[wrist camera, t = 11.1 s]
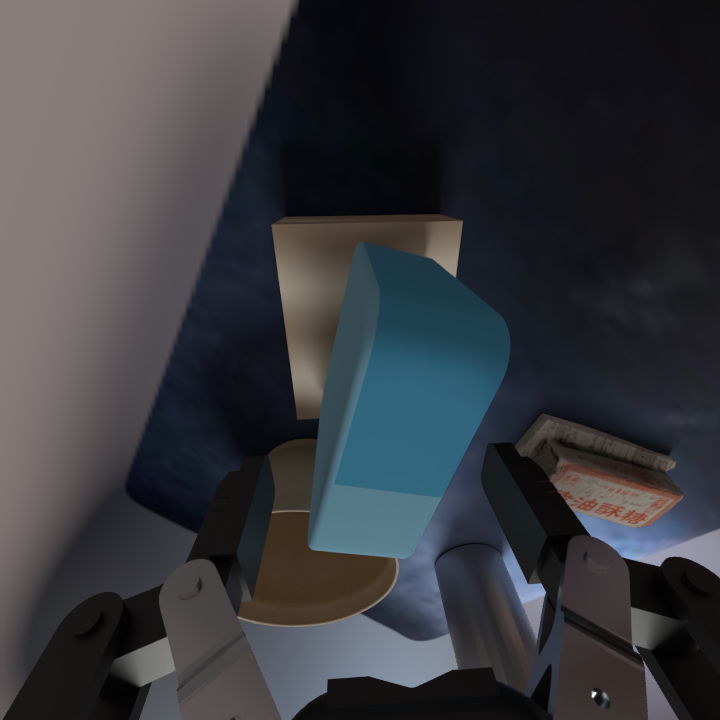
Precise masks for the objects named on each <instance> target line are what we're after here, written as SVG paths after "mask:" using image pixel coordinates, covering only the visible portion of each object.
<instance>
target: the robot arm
mask: <svg viewBox="0 0 720 720" xmlns="http://www.w3.org/2000/svg"><path fill="white" fill-rule="evenodd" d="M481 480H482V486H483V489H484V491H485V494H486V496H487V498H488V500H489V502H490V504H491V506H492V508H493V511H494V513H495V515H496V517H497V519H498V521H499V523H500V525H501V527H502V530H503V532H504V534H505V536H506V538H507V540H508V542H509V544H510V547H511V549H512V551H513V553H514V555H515V557H516V559H517V561H518V564H519V566H520V568H521V570H522V572H523V574H524V576H525V578H526V581H527V583H528V584H537V583H542V585H543V587H544V589H545V591H546V594H545V597H544V603H543V609H542V615H541V621H540V627H539V633H538V639H537V638H536V636H535V634H534V632H533V629H532V627H531V624H530V622H529V620H528V618H527V615H526V613H525V610H524V608H523V606H522V603H521V601H520V599H519V596H518V594H517V592H516V589H515V587H514V584H513V582H512V580H511V577H510V575H509V573H508V570H507V568H506V566H505V563H504V561H503V559H502V556H501V554H500V553H499V551H498V550H496V549H495V548H493V547H490V546H487V545H481V544H471V545H464V546H460V547H457V548H454V549H452V550H450V551H448V552H446V553H445V554H444V555H442V556H441V557H440V558H439V559H438V560H437V562H436V564H435V572H436V576H437V581H438V585H439V589H440V594H441V598H442V603H443V607H444V611H445V615H446V620H447V624H448V628H449V632H450V636H451V640H452V645H453V649H454V653H455V658H456V662H457V666H458V670H451V671H449V672H447V673H445V674H443V675H441V676H439V677H436V678H434V679H433V680H430V681H428V682H426V683H424V684H422V685H419V686H417V687H414V688H409V687H405V686H402V685H398V684H394V683H391V682H387V681H383V680H380V679H376V678H373V677H369V676H367V677H353V678H340V679H328V685H327V693H325V694H323V695H320V696H319V697H317V698H315V699H314V700H312V701H311V702H309V703H308V704H307V705H306V706H305V707H304V708H303V709H301V710H300V711H299V712H298V713H297V714H296V716H295V717H294V718H293V719H292V720H648V710H647V695H646V681H645V668H644V663H643V660H644V662H645V663H646V665H647V667H648V668H649V670H650V672H651V674H652V675H653V677H654V679H655V680H656V682H657V684H658V685H659V687H660V689H661V690H662V692H663V694H664V696H665V697H666V699H667V700H668V702H669V704H670V706H671V707H672V709H673V711H674V712H675V714H676V716H677V717H678V719H679V720H720V578H719V577H718V576H717V575H715V574H714V573H713V572H711V571H710V570H708V569H707V568H705V567H704V566H702V565H700V564H698V563H696V562H693V561H692V560H689V559H686V558H681V557H669V558H667V559H666V560H664V562H663V563H662V564H661V566H660V567H659V566H655V565H651V564H647V563H642V562H638V561H634V560H630V559H626V558H623V557H621V556H620V555H619V553H618V552H617V551H616V550H614V549H613V548H612V547H611V546H609V545H608V544H606V543H605V542H603V541H601V540H599V539H597V538H594V537H591V536H590V534H589V533H588V532H587V530H586V529H585V528H584V526H583V525H582V523H581V522H580V521H579V519H578V518H577V516H576V515H575V514H574V512H573V511H572V509H571V508H570V507H569V505H568V504H567V503H566V501H565V500H564V498H563V497H562V496H561V494H560V493H558V490H557V489H556V487H555V486H554V484H553V483H552V482H550V479H549V477H548V476H547V475H546V473H545V472H544V470H543V469H542V468H541V467H540V466H539V465H538V464H537V463H535V462H534V461H533V460H532V459H530V458H529V457H528V456H525V457H521V456H520V454H519V453H518V451H517V450H516V448H515V447H514V445H513V444H512V443H510V442H509V443H490V444H488V446H487V449H486V454H485V458H484V463H483V468H482V473H481ZM274 499H275V484H274V479H273V474H272V469H271V464H270V460H269V456H268V455H267V454H266V455H247V456H245V458H244V460H243V463H242V466H241V468H240V471H233V472H229V473H228V475H227V476H226V477H225V478H224V479H223V480H222V481H221V482H220V484H219V485H218V488H217V490H216V493H215V495H214V497H213V500H212V502H211V505H210V507H209V511H208V512H207V514H206V516H205V519H204V521H203V524H202V526H201V528H200V531H199V533H198V536H197V538H196V540H195V543H194V545H193V547H192V550H191V552H190V555H189V557H188V559H187V561H186V562H185V564H183V565H181V566H180V567H179V568H177V569H176V570H175V571H174V572H173V573H172V574H171V575H170V576H169V577H168V579H167V580H166V582H165V583H164V584H162V585H160V586H158V587H156V588H153V589H151V590H148V591H146V592H143V593H140V594H138V595H135V596H133V597H130V598H127V599H125V600H122V598H121V597H120V596H119V595H118V594H116V593H113V592H104V593H100V594H97V595H94V596H92V597H90V598H88V599H87V600H85V601H83V602H82V603H81V604H79V605H78V606H77V607H76V608H74V609H73V610H72V611H71V612H70V613H69V614H68V615H67V616H66V617H65V618H64V620H63V621H62V622H61V624H60V625H59V627H58V628H57V630H56V631H55V633H54V635H53V636H52V638H51V640H50V642H49V643H48V645H47V646H46V648H45V650H44V652H43V653H42V655H41V657H40V658H39V660H38V661H37V663H36V665H35V667H34V668H33V670H32V672H31V673H30V675H29V677H28V678H27V680H26V682H25V683H24V685H23V686H22V688H21V690H20V691H19V693H18V695H17V697H16V698H15V700H14V701H13V703H12V705H11V707H10V708H9V710H8V711H7V713H6V715H5V717H4V718H3V720H139V718H140V715H141V712H142V709H143V706H144V703H145V701H146V697H147V695H148V692H149V689H150V686H151V683H152V681H154V680H156V679H158V678H160V677H162V676H164V675H167V674H169V673H171V672H173V671H175V670H176V673H177V678H178V683H179V687H178V688H177V697H178V703H179V707H180V712H181V716H182V720H282V719H281V717H280V714H279V712H278V710H277V707H276V705H275V703H274V701H273V698H272V696H271V693H270V691H269V689H268V686H267V684H266V682H265V679H264V677H263V675H262V672H261V670H260V668H259V666H258V663H257V661H256V659H255V656H254V654H253V652H252V650H251V647H250V645H249V642H248V640H247V638H246V636H245V633H244V632H243V630H242V627H241V625H240V623H239V620H238V618H237V617H238V613H239V608H240V604H241V602H247V601H252V600H253V596H254V591H255V587H256V582H257V578H258V573H259V568H260V564H261V559H262V555H263V550H264V546H265V541H266V537H267V532H268V527H269V523H270V518H271V514H272V509H273V505H274ZM632 644H633V645H635V647H636V648H637V650H638V652H639V653H640V654H638V653H636V652H635V651H634V650H633V645H632ZM640 655H641V656H640ZM642 658H643V659H642Z"/></svg>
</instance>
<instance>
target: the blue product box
mask: <svg viewBox="0 0 720 720" xmlns="http://www.w3.org/2000/svg"><path fill="white" fill-rule="evenodd" d="M509 356H510V336H509V331H508V327H507V325H506V322H505V321H504V319H503V318H502V316H501V315H500V314H499V313H497V312H496V311H495V310H494V309H492V308H491V307H490V306H489V305H488V304H486V303H485V302H484V301H483V300H482V299H480V298H479V297H478V296H477V295H476V294H474V293H473V292H472V291H471V290H470V289H468V288H467V287H466V286H465V285H464V284H462V283H461V282H460V281H459V280H458V279H456V278H455V277H454V276H453V275H451V274H450V273H449V272H448V271H447V270H445V269H444V268H443V267H442V266H441V265H439V264H438V263H437V262H436V261H435V260H433V259H431V258H428V257H423V256H419V255H415V254H411V253H407V252H403V251H399V250H395V249H391V248H386V247H382V246H378V245H374V244H370V243H366V242H359V243H358V244H357V246H356V248H355V251H354V255H353V259H352V263H351V268H350V272H349V277H348V281H347V286H346V290H345V295H344V299H343V304H342V309H341V313H340V318H339V322H338V327H337V331H336V336H335V340H334V345H333V350H332V354H331V359H330V363H329V368H328V372H327V377H326V382H325V386H324V391H323V396H322V402H321V409H320V419H319V428H318V438H317V448H316V458H315V468H314V477H313V487H312V497H311V507H310V517H309V527H308V545H309V547H310V549H312V550H316V551H327V552H337V553H348V554H359V555H369V556H380V557H390V558H401V559H405V558H408V557H409V556H411V555H412V553H413V552H414V550H415V548H416V546H417V544H418V542H419V540H420V539H421V537H422V535H423V533H424V531H425V529H426V527H427V525H428V523H429V521H430V519H431V517H432V515H433V513H434V512H435V510H436V508H437V506H438V504H439V502H440V500H441V498H442V496H443V494H444V492H445V490H446V488H447V487H448V485H449V483H450V481H451V479H452V477H453V475H454V473H455V471H456V469H457V467H458V465H459V463H460V461H461V460H462V458H463V456H464V454H465V452H466V450H467V448H468V446H469V444H470V442H471V440H472V438H473V436H474V435H475V433H476V431H477V429H478V427H479V425H480V423H481V421H482V419H483V417H484V415H485V413H486V411H487V409H488V408H489V406H490V404H491V402H492V400H493V398H494V396H495V394H496V392H497V390H498V388H499V386H500V384H501V382H502V380H503V378H504V375H505V373H506V370H507V366H508V362H509Z"/></svg>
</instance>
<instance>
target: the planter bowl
mask: <svg viewBox="0 0 720 720" xmlns="http://www.w3.org/2000/svg"><path fill="white" fill-rule="evenodd" d="M316 448H317V439H296V440H292V441H288V442H285V443H283V444H281V445H279V446H277V447H276V448H274V449H273V450H272V451H271V452H270V453H269V454H268V456H269V460H270V464H271V469H272V474H273V479H274V484H275V499H274V505H273V509H272V514H271V518H270V523H269V527H268V532H267V537H266V541H265V546H264V550H263V555H262V559H261V564H260V568H259V573H258V578H257V582H256V587H255V591H254V596H253V600H252V601H247V602H241V604H240V608H239V613H238V617H237V618H238V619H241V620H245V621H249V622H253V623H257V624H263V625H271V626H280V627H306V626H315V625H322V624H328V623H332V622H336V621H340V620H343V619H346V618H349V617H352V616H354V615H357V614H359V613H361V612H363V611H365V610H367V609H369V608H371V607H372V606H374V605H375V604H377V603H378V602H379V601H381V600H382V599H383V598H384V597H385V596H386V595H387V594H388V593H389V592H390V591H391V589H392V588H393V586H394V584H395V582H396V580H397V577H398V572H399V561H398V558H390V557H380V556H369V555H359V554H348V553H337V552H327V551H316V550H312V549H310V547H309V545H308V527H309V517H310V507H311V497H312V487H313V477H314V468H315V458H316Z"/></svg>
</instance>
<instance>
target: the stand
mask: <svg viewBox="0 0 720 720" xmlns="http://www.w3.org/2000/svg"><path fill="white" fill-rule="evenodd" d="M462 224H463V221H461V220H458V219H455V218H451V217H448V216H445V215H441V214H421V215H367V216H312V217H284V218H283V219H281V220H279V221H277V222H275V223H274V224H272V232H273V239H274V247H275V254H276V262H277V269H278V277H279V284H280V292H281V299H282V307H283V314H284V322H285V329H286V337H287V344H288V352H289V359H290V367H291V374H292V381H293V389H294V396H295V404H296V411H297V419H320V409H321V402H322V396H323V391H324V386H325V382H326V377H327V372H328V368H329V363H330V359H331V354H332V350H333V345H334V340H335V336H336V331H337V327H338V322H339V318H340V313H341V309H342V304H343V299H344V295H345V290H346V286H347V281H348V277H349V272H350V268H351V263H352V259H353V255H354V251H355V248H356V246H357V244H358V243H359V242H366V243H370V244H374V245H378V246H382V247H386V248H391V249H395V250H399V251H403V252H407V253H411V254H415V255H419V256H423V257H428V258H431V259H433V260H435V261H436V262H437V263H438V264H439V265H441V266H442V267H443V268H444V269H445V270H447V271H448V272H449V273H450V274H451V275H453V276H454V277H455V278H456V270H457V263H458V255H459V247H460V239H461V231H462Z"/></svg>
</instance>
